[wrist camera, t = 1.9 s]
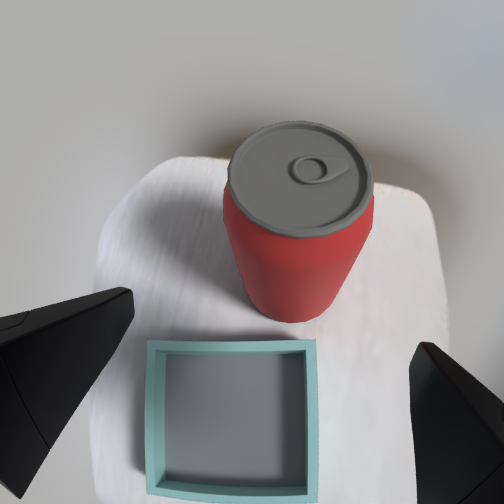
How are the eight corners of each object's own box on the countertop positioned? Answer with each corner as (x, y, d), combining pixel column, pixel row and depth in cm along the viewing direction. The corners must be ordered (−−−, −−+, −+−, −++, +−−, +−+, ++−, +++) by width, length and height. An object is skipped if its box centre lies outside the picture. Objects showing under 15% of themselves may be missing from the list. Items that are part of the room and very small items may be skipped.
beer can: (350, 311, 21) (416, 225, 10) (256, 335, 21) (230, 270, 10) (322, 228, 24) (347, 103, 13) (236, 248, 24) (202, 128, 13)
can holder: (313, 490, 16) (317, 502, 14) (160, 484, 17) (146, 493, 14) (311, 345, 20) (315, 339, 18) (161, 345, 21) (147, 339, 19)
